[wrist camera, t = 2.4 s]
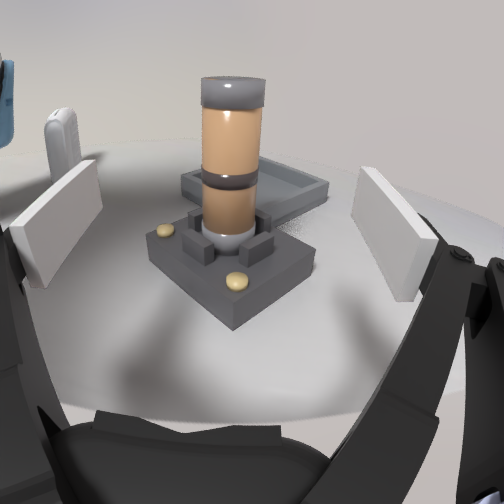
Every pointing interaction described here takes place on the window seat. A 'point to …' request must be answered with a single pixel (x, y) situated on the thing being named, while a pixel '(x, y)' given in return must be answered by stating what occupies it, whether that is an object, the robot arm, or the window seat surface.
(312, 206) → the parts tray
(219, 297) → the fuse holder
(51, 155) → the grey rounded slab
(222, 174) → the fuse
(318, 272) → the window seat surface
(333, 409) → the window seat surface
